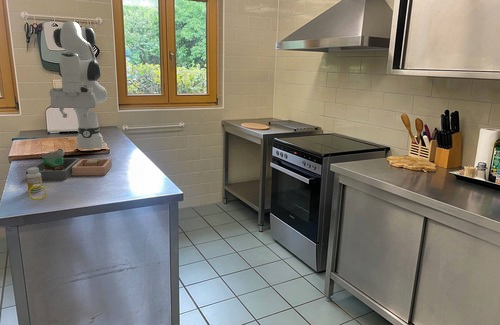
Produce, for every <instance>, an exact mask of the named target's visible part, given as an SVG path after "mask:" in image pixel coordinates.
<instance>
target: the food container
mask: <svg viewBox="0 0 500 325" xmlns="http://www.w3.org/2000/svg"><path fill="white" fill-rule="evenodd" d="M64 155H65V151H64V150H63V149H62V148H58V149H57V150H54V151H50V152H48V153H43V152H42V153H41V158H42V161H44V166H45V169H44V171H58V170H65V168H64V167H65V166H63V158H64Z"/></svg>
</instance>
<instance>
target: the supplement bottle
mask: <svg viewBox="0 0 500 325" xmlns="http://www.w3.org/2000/svg"><path fill="white" fill-rule="evenodd" d="M27 171H28V174H27V176H26V175H25V176H26V183H27V190H28V191H29V190H30V188H31V187H32V186H33V185H34V184H40V185H41V186H43V180H42V177H41V173H39V168H37V167H34V166H33V168H32V167H28V168H27ZM43 190H44V189H43V188H42V187H37V188H33V189H31V191H30V193H39V192H41V191H43Z"/></svg>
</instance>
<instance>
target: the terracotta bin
mask: <svg viewBox="0 0 500 325" xmlns="http://www.w3.org/2000/svg"><path fill="white" fill-rule="evenodd" d="M88 160H99V166H92V167H86V162H87V161H88ZM112 160H113V159H112V158H81V160H80V161H79V162H78V163H76V164H75V165H74V166H73V167H72V176H106V175H107V173H108V172H109V171H110V169H111V168H112V167H113V162H112Z"/></svg>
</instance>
